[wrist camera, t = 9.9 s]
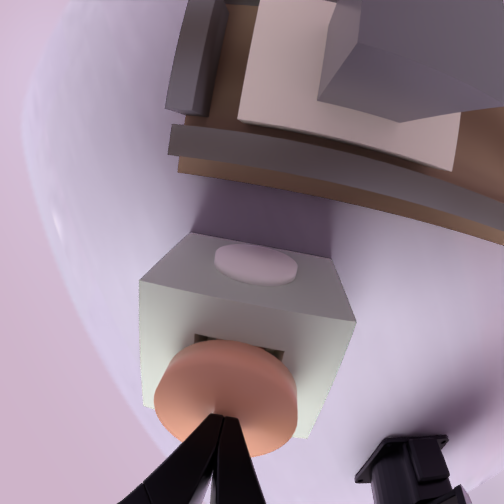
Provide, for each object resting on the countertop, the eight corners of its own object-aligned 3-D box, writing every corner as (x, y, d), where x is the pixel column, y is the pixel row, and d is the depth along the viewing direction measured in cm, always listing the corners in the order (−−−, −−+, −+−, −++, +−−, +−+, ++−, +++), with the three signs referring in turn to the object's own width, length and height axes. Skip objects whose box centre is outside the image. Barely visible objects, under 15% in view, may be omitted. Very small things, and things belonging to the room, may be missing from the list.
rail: (553, 260, 13) (588, 282, 10) (187, 170, 14) (155, 177, 11) (576, 123, 10) (614, 127, 6) (223, -15, 11) (206, -56, 7)
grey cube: (302, 357, 17) (307, 438, 11) (181, 333, 17) (143, 406, 12) (333, 250, 15) (360, 311, 9) (190, 224, 15) (139, 268, 9)
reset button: (282, 383, 13) (279, 465, 9) (188, 364, 14) (156, 440, 9) (306, 300, 12) (315, 380, 8) (195, 279, 12) (151, 348, 8)
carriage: (429, 167, 11) (567, 200, 4) (244, 123, 12) (181, 81, 4) (443, 60, 10) (564, 9, 2) (265, 11, 10) (241, -119, 2)
